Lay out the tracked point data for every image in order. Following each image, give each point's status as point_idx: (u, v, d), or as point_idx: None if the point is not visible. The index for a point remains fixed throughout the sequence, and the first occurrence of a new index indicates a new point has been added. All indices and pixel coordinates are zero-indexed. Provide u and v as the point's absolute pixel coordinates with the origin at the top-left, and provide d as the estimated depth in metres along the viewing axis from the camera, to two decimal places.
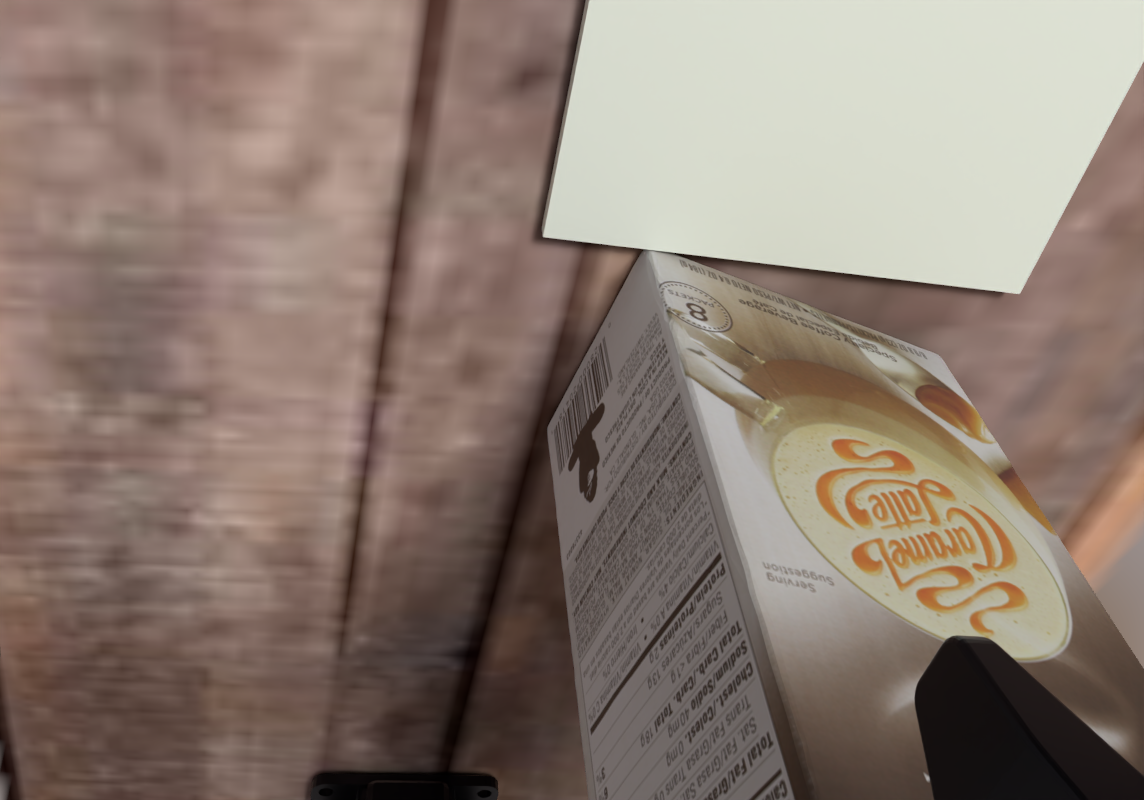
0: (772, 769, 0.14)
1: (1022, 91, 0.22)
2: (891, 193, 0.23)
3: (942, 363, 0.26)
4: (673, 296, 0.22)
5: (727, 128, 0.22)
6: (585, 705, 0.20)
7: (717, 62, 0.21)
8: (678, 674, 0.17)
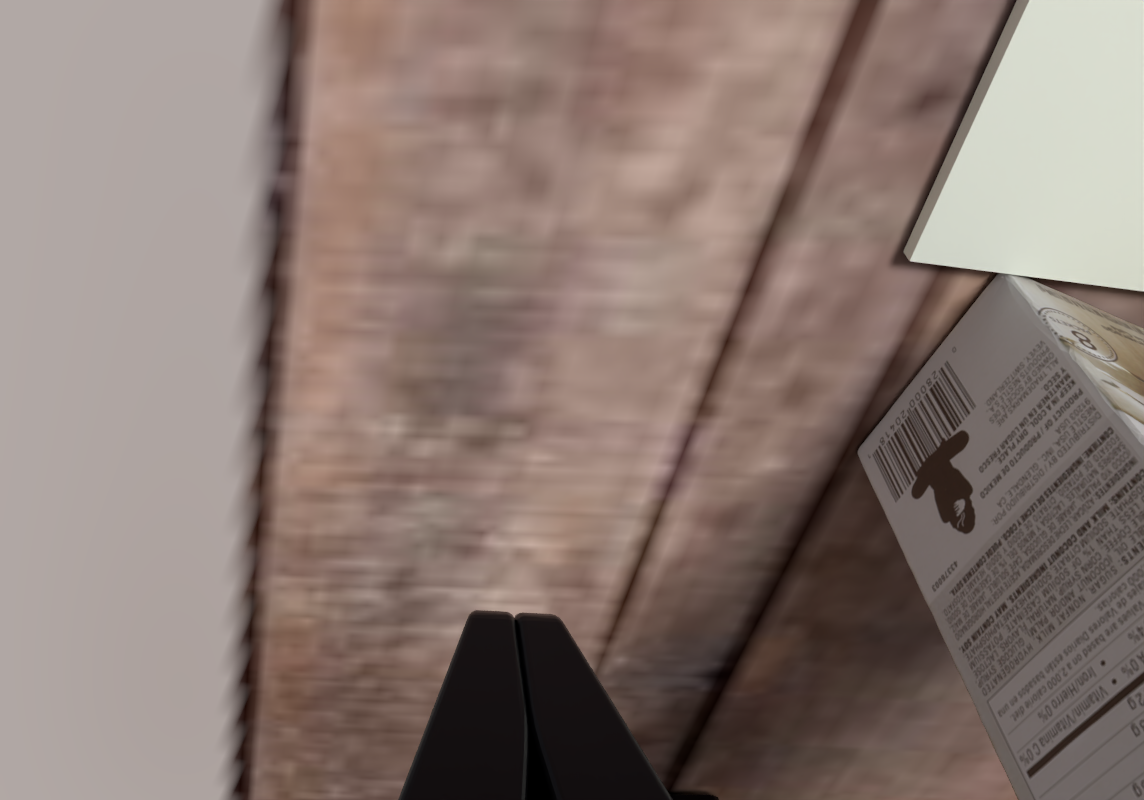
0: None
1: None
2: None
3: None
4: (1058, 324, 0.22)
5: (1119, 152, 0.21)
6: (1010, 746, 0.19)
7: (1127, 85, 0.20)
8: None
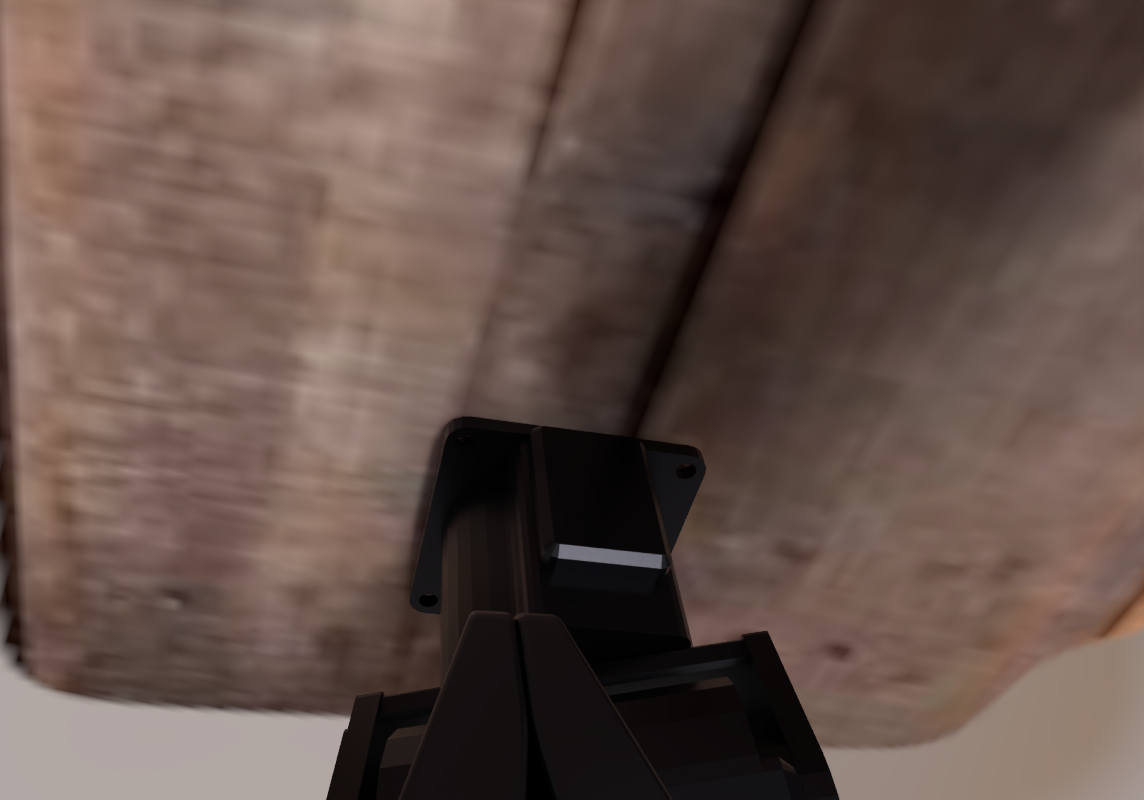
0: None
1: None
2: None
3: None
4: None
5: None
6: None
7: None
8: None
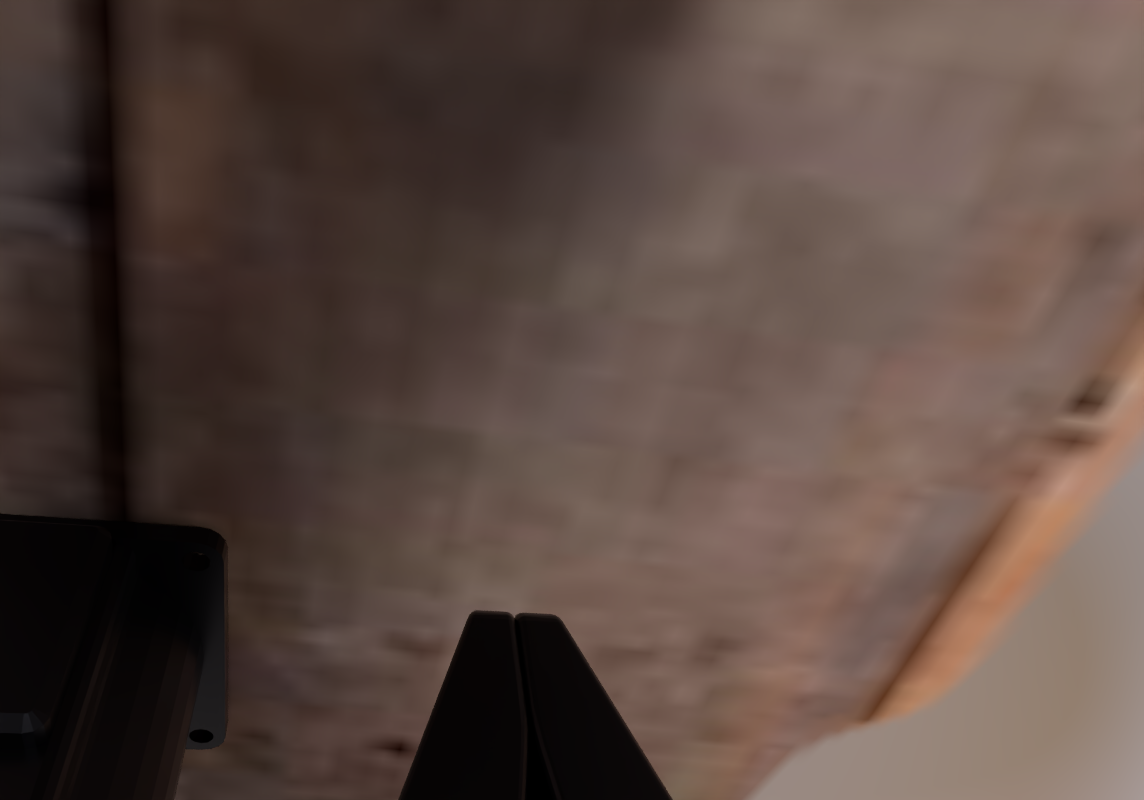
0: None
1: None
2: None
3: None
4: None
5: None
6: None
7: None
8: None
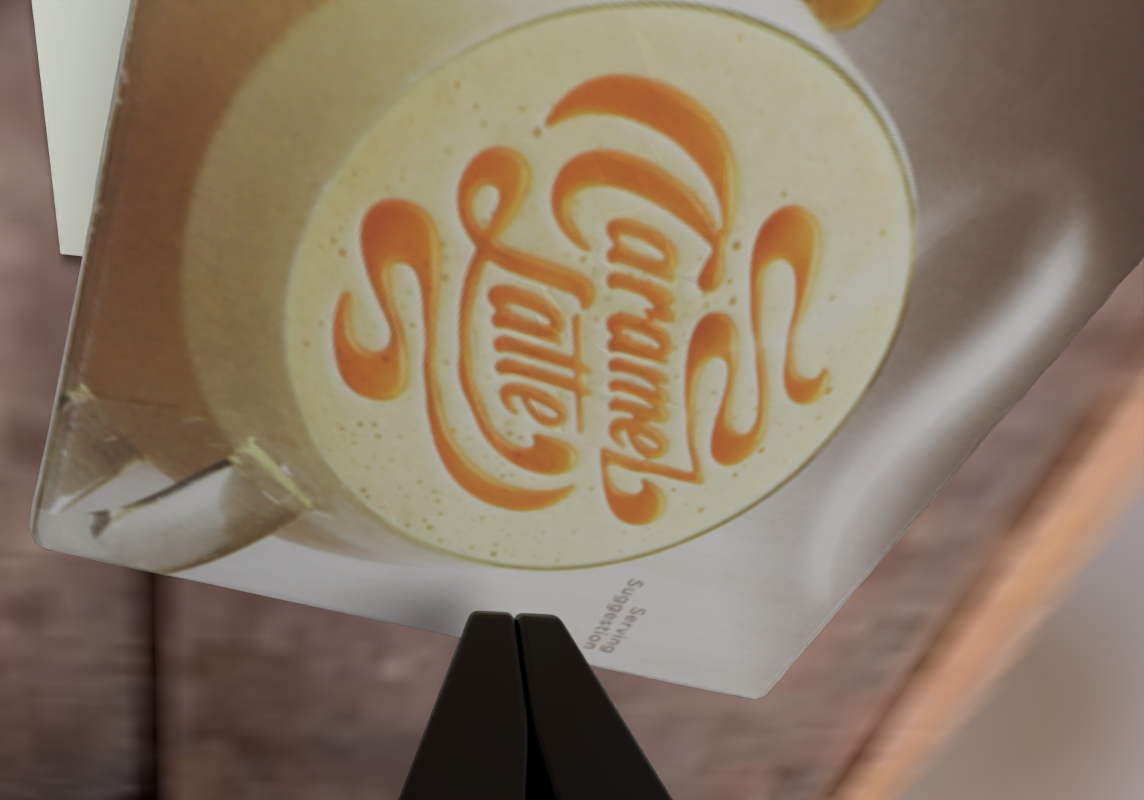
0: None
1: None
2: None
3: None
4: None
5: None
6: None
7: None
8: None
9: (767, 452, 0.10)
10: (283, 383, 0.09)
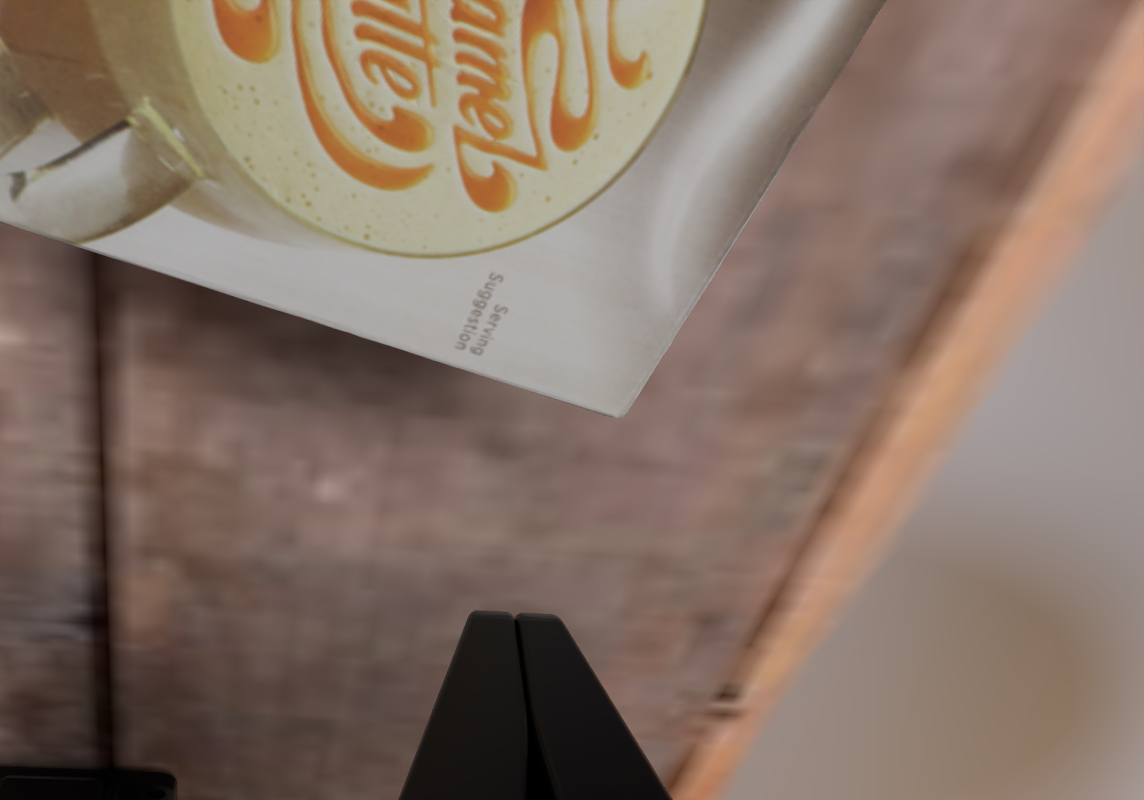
0: None
1: None
2: None
3: None
4: None
5: None
6: None
7: None
8: None
9: (601, 138, 0.12)
10: (170, 40, 0.11)
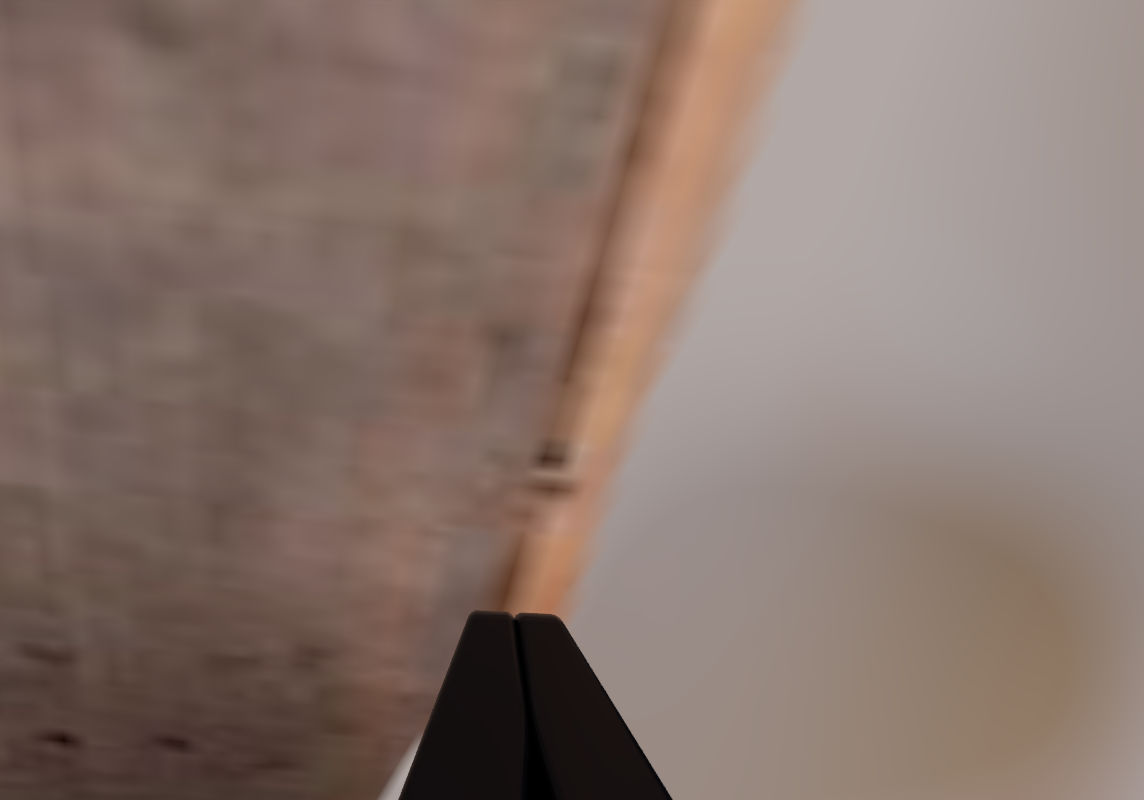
0: None
1: None
2: None
3: None
4: None
5: None
6: None
7: None
8: None
9: None
10: None
